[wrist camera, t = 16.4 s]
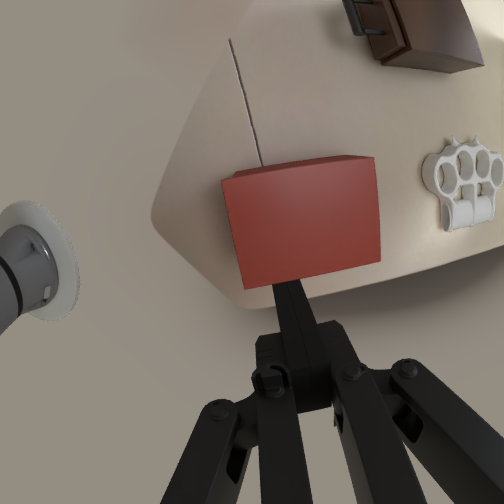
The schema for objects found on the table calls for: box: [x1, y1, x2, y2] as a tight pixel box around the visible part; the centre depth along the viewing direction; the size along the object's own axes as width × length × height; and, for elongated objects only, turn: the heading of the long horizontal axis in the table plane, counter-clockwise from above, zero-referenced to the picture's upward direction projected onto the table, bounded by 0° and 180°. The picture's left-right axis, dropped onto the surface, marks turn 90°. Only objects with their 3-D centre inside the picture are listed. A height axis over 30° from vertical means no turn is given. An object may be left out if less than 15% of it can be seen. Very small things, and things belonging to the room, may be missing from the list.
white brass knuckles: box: [422, 136, 504, 232], centre depth 33 cm, size 3×18×15 cm
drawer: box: [342, 0, 407, 60], centre depth 23 cm, size 17×10×7 cm, turn 101°
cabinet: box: [380, 0, 484, 74], centre depth 22 cm, size 14×12×9 cm
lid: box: [221, 157, 381, 289], centre depth 28 cm, size 16×12×1 cm
